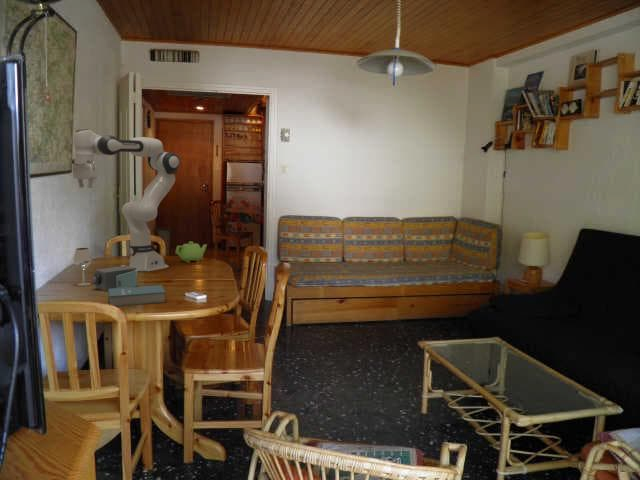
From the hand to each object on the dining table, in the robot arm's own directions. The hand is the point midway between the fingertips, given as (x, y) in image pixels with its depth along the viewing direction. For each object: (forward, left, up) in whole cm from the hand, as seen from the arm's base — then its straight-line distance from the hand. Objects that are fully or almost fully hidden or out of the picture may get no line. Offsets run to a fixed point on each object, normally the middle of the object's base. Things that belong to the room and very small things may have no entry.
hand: (85, 187), depth 273 cm
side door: (+1, +41, -47) cm, 62 cm away
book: (+9, +63, -48) cm, 80 cm away
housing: (+3, +32, -47) cm, 57 cm away
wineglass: (+10, +15, -48) cm, 51 cm away
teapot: (-67, -3, -48) cm, 82 cm away
